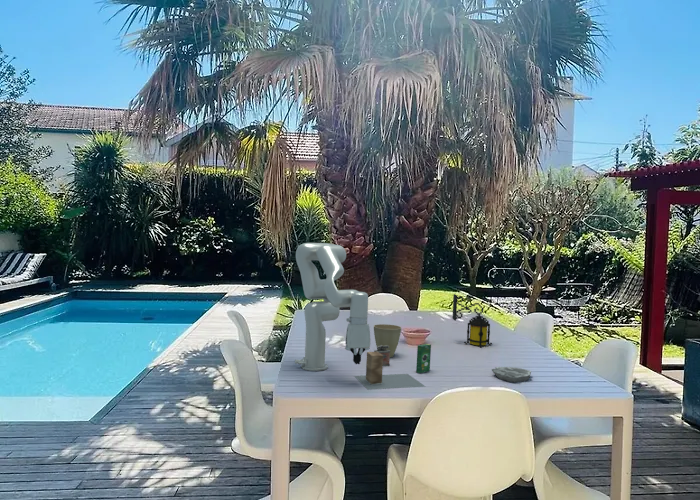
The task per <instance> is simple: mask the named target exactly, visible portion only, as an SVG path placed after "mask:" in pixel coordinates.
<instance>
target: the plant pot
mask: <svg viewBox="0 0 700 500" xmlns="http://www.w3.org/2000/svg"><path fill="white" fill-rule="evenodd" d="M401 332H402V326H400V325H397V324H387V323H384V324H380V323H379V324H374V325H373V335H374V341H375V346H376V347H377V346H380V345H382V346H386V345H388V346H389V348H386V350H390V358H393V357H394V355H395V352H396V351H397V348H398V346H399V345H398V344H399V340H400V337H401ZM384 350H385V348H384Z"/></svg>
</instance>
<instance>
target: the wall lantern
mask: <svg viewBox="0 0 700 500" xmlns="http://www.w3.org/2000/svg"><path fill="white" fill-rule="evenodd" d="M452 297H453V298H452V301H453V303H452V320H454V321H457V320H458V319H462V318H463V315H464V314H463V313H462V311H464V310H465V311H467V312H468V314H470V313H472V311H473V310H472V309H471V308H472V307H475V306H476V305H478V307H480V308H481V310H480V309H479V308H478V307H475V308H474V313H475V314H476V315H475V316H473V317H471V318H470V319H469V322H468V323H467V328H466V329H467V330H466V341H463V343H464V344H465V345H466V346H467V345H468V344H470V345H474V346H479V348H480V349H481V348H482V347H483V346H486V345H488V346H490V347H491V345H493V342H490V335H491V330H490V329H491V323H489V321H490V320H488V319H487V318H486V317H484V316H482V315H481V314H482V313H484V307H483V306H482V305H481V304H480V303H479V302H474V303H471V305H463V304H462V302H463V301H464V297H463V296H458V295H457V294H456V293H455V294H453V296H452ZM460 299H461V300H460ZM458 300H459V302H458ZM457 305H458V306H461V308H460V309H458V306H457ZM478 311H479V313H478ZM458 313H459V315H460V316H459V315H458Z"/></svg>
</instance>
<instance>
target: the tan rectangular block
mask: <svg viewBox="0 0 700 500" xmlns="http://www.w3.org/2000/svg"><path fill="white" fill-rule="evenodd" d="M365 365H366V366H365V367H366V368H365V376H366V380H367V381H368V382H369V383H370V384H382V375H383V370H384V369H383V367H384V366H383V355H382V354H380V353H379V352H374V351H366V364H365Z"/></svg>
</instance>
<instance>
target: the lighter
mask: <svg viewBox="0 0 700 500" xmlns="http://www.w3.org/2000/svg"><path fill="white" fill-rule="evenodd" d="M384 348H385V350H384ZM386 348H389V346H388V345H386V346H382V345H380V346H376V349H375V350H374V351H373V352H379V353H380V354H382V355H383V367H389V366H390V364H391V363H390V350H386Z"/></svg>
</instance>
